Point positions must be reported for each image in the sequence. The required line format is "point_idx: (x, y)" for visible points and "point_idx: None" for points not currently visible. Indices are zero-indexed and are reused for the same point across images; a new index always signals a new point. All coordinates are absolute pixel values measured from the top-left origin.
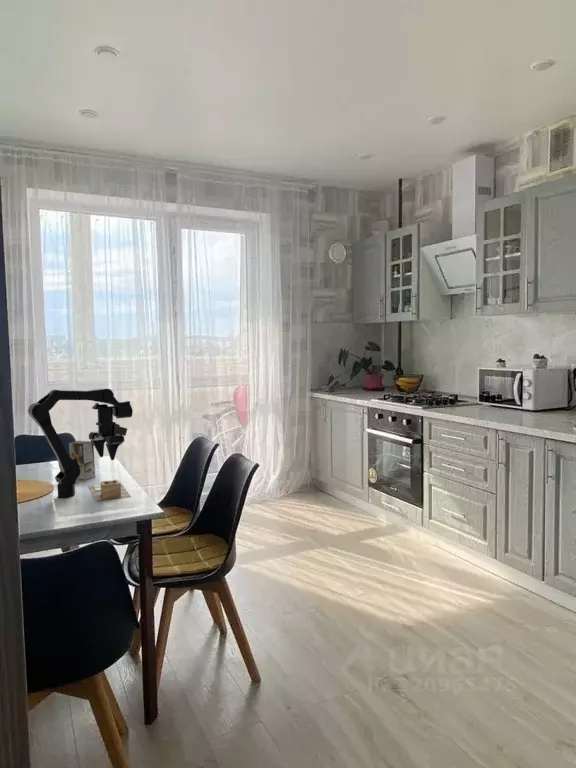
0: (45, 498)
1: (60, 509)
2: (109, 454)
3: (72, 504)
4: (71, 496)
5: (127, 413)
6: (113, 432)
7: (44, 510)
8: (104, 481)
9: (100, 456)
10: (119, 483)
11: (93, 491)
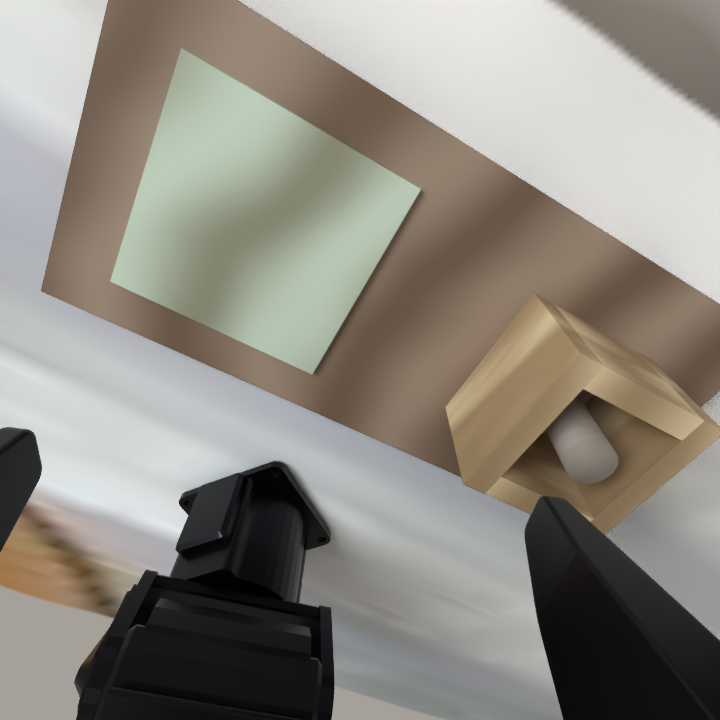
0: (131, 555)
1: (434, 614)
2: (580, 698)
3: (407, 552)
4: (304, 529)
5: None
6: None
7: (374, 646)
8: (499, 465)
9: (30, 488)
10: (713, 436)
11: (304, 385)
